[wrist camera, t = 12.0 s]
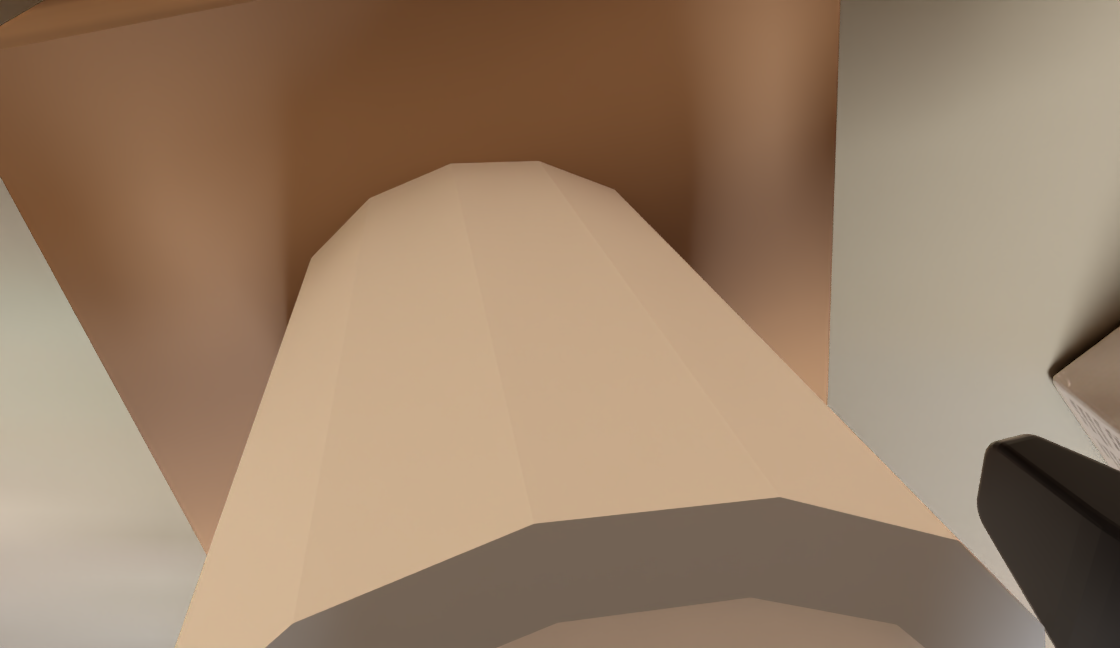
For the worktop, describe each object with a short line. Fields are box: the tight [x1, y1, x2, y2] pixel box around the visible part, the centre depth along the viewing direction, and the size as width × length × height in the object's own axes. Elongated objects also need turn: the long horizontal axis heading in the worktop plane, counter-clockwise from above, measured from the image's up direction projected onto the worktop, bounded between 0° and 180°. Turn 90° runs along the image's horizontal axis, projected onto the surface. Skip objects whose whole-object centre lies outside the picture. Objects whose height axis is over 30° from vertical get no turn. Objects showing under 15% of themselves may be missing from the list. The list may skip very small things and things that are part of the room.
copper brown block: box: [0, 0, 840, 554], centre depth 14 cm, size 10×10×4 cm
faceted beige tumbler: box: [175, 161, 1046, 648], centre depth 9 cm, size 7×7×7 cm
